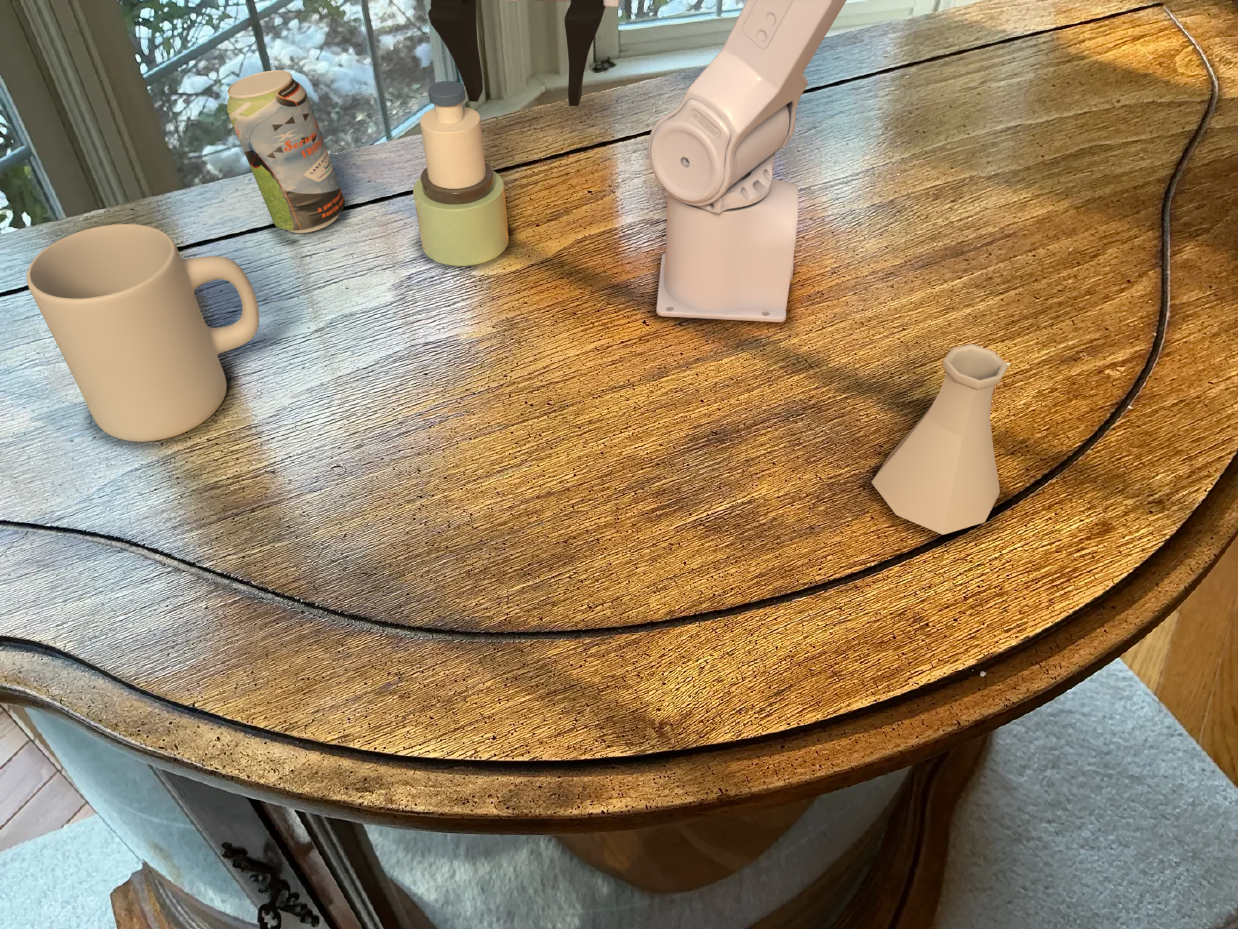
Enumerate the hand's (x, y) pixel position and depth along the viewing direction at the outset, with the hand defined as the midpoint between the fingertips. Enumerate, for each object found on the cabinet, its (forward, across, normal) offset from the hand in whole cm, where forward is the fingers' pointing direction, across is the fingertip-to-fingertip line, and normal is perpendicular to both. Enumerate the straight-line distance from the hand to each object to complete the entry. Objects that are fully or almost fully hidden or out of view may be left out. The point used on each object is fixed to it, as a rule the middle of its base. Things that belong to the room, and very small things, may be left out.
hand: (525, 98), depth 75 cm
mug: (+11, -20, -24) cm, 33 cm away
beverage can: (+11, -19, -2) cm, 22 cm away
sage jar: (+10, -5, -4) cm, 12 cm away
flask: (+11, +30, -28) cm, 42 cm away
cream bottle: (+4, -5, -4) cm, 8 cm away
